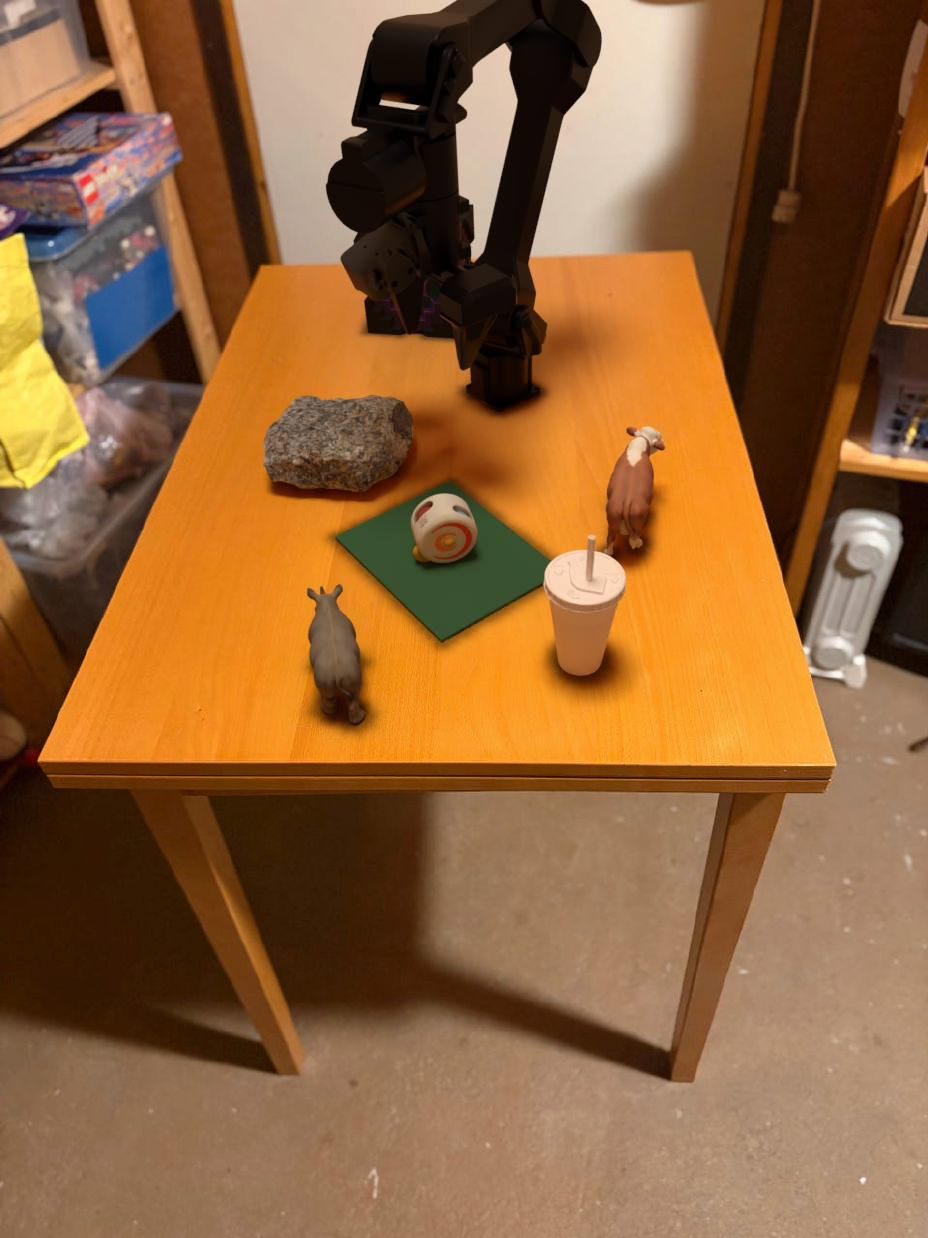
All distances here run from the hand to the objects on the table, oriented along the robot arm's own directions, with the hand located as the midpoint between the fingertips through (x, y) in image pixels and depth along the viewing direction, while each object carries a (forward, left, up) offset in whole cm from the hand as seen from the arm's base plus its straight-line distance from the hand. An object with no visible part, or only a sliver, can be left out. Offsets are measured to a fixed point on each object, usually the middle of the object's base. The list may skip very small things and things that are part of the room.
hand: (437, 350), depth 92 cm
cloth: (+10, +14, -12) cm, 21 cm away
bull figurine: (-7, +22, -12) cm, 26 cm away
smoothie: (+9, +32, -12) cm, 35 cm away
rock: (+10, -5, -12) cm, 17 cm away
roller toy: (+10, +14, -12) cm, 21 cm away
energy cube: (-16, -27, -12) cm, 34 cm away
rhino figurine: (+25, +19, -12) cm, 34 cm away
